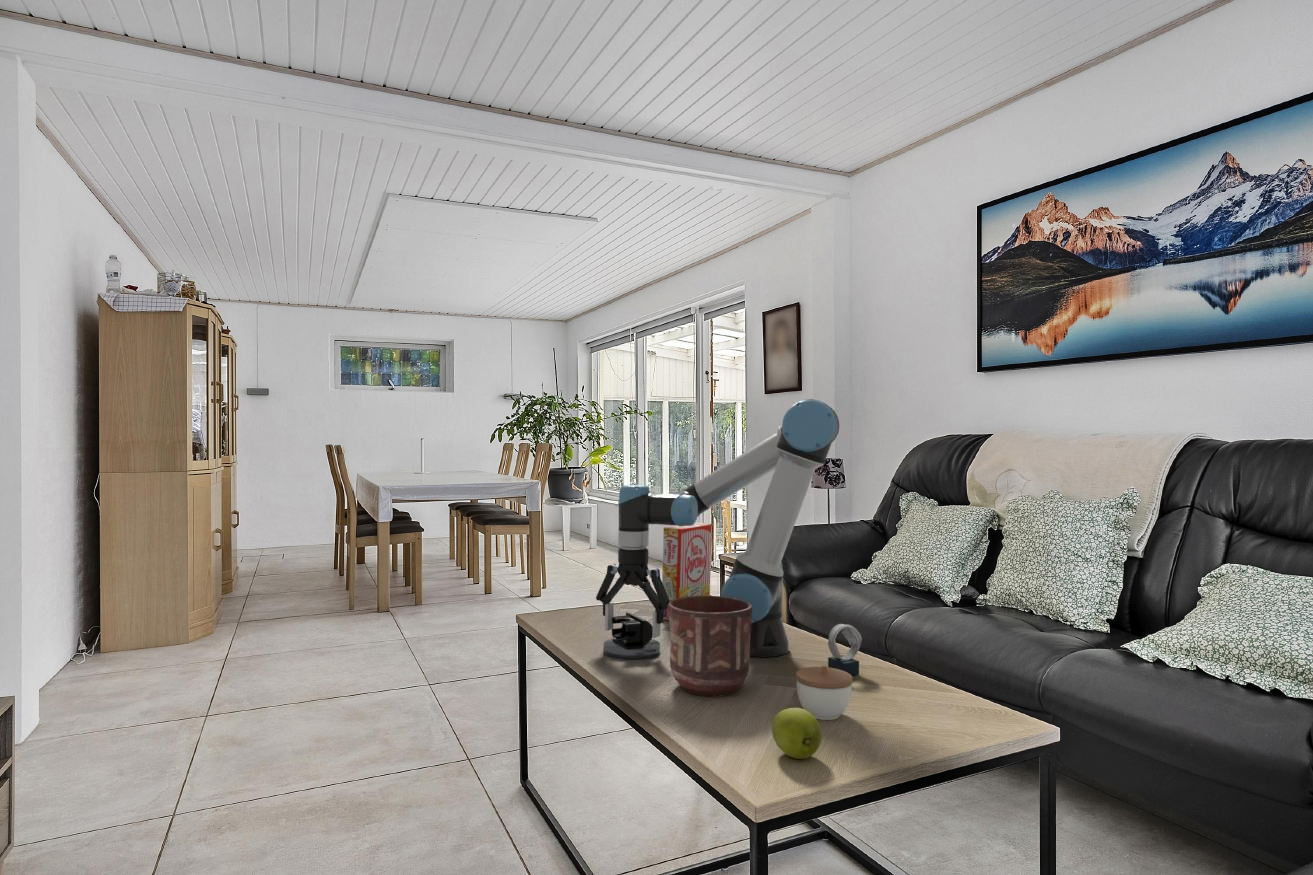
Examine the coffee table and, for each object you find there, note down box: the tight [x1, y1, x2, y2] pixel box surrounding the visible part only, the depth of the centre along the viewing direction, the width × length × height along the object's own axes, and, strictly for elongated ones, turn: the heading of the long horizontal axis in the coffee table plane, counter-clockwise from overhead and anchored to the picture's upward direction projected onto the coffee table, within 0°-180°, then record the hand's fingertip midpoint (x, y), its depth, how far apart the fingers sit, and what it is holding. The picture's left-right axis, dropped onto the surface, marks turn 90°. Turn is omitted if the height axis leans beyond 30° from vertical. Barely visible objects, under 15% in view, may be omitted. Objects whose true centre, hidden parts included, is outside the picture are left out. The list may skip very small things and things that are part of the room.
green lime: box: [771, 707, 823, 760], centre depth 130 cm, size 8×9×8 cm
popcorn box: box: [661, 522, 712, 621], centre depth 234 cm, size 20×6×27 cm, turn 149°
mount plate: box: [602, 638, 661, 661], centre depth 192 cm, size 14×14×2 cm
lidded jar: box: [795, 665, 853, 721], centre depth 150 cm, size 11×11×9 cm
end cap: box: [611, 612, 653, 649], centre depth 192 cm, size 10×7×7 cm
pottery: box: [668, 595, 752, 697], centre depth 165 cm, size 18×18×18 cm
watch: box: [827, 623, 863, 677], centre depth 177 cm, size 6×8×11 cm
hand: (632, 633), depth 192 cm, fingers open, 13 cm apart
